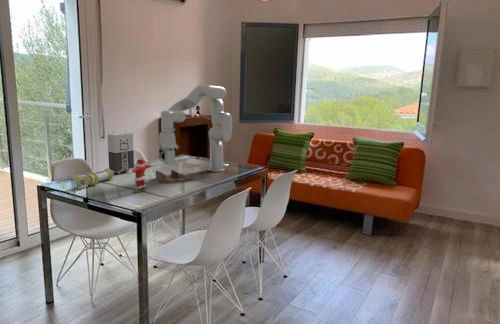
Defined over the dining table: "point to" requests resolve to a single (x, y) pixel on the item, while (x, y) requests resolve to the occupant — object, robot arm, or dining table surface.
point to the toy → (120, 151)
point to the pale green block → (169, 156)
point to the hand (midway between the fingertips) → (167, 158)
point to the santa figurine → (140, 175)
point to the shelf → (171, 177)
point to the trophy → (92, 178)
